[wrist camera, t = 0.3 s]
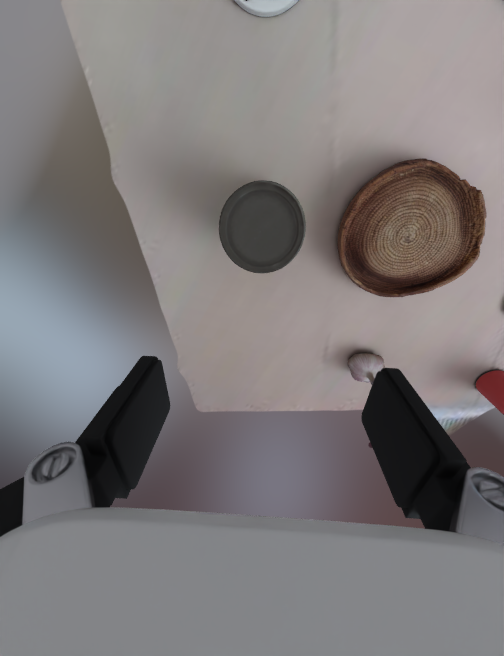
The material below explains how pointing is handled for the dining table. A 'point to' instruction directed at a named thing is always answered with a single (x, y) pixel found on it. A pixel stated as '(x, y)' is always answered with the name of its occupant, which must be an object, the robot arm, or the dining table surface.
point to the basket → (411, 229)
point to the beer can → (492, 388)
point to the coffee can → (262, 226)
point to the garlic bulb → (365, 366)
